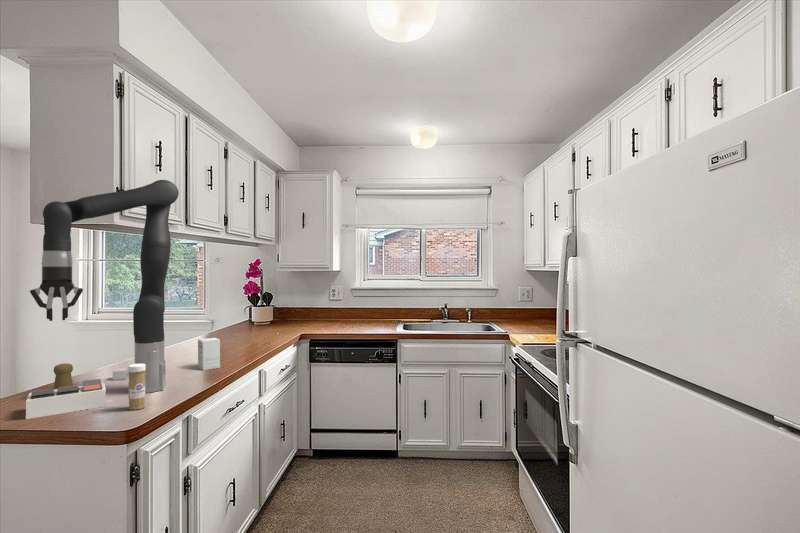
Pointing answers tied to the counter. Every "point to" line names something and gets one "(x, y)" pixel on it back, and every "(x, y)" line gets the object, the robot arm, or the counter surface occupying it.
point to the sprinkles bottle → (136, 386)
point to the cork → (63, 375)
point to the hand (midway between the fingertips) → (57, 320)
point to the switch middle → (67, 389)
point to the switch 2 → (91, 385)
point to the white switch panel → (64, 402)
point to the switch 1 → (43, 392)
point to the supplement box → (208, 353)
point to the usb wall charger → (120, 374)
